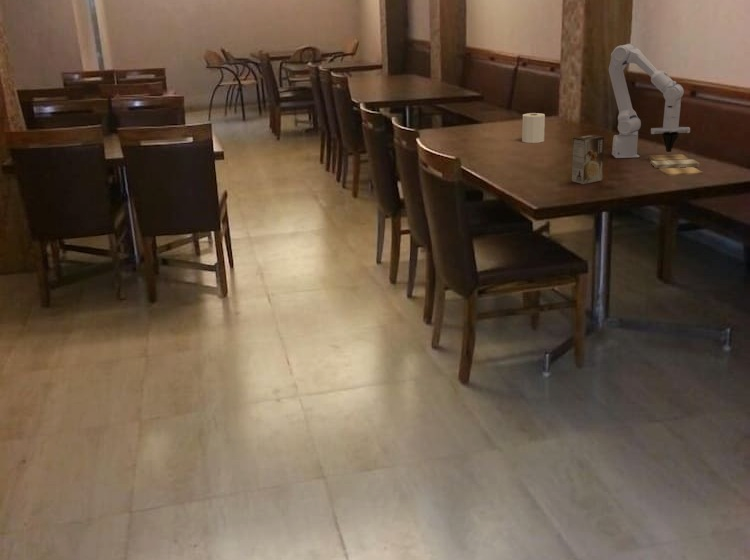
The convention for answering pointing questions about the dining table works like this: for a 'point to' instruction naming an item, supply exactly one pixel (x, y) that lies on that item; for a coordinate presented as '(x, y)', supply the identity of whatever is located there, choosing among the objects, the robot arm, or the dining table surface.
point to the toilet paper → (533, 127)
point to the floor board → (675, 163)
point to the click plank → (666, 157)
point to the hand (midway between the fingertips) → (668, 151)
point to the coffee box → (587, 159)
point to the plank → (680, 171)
